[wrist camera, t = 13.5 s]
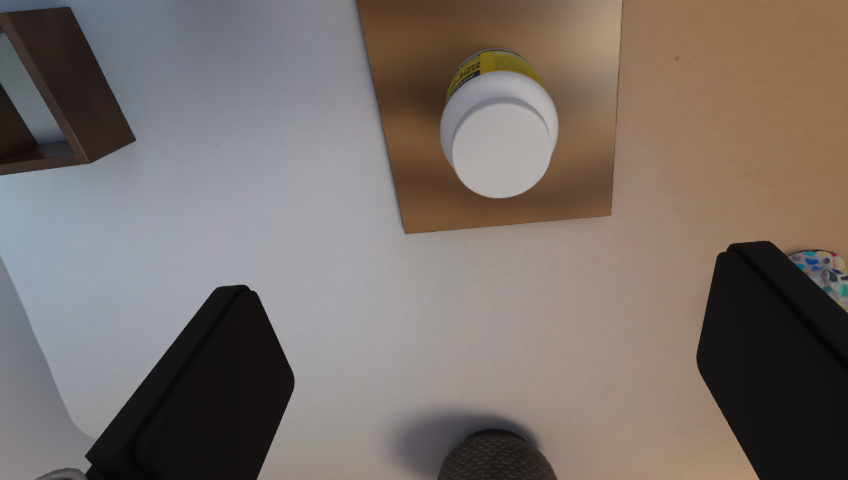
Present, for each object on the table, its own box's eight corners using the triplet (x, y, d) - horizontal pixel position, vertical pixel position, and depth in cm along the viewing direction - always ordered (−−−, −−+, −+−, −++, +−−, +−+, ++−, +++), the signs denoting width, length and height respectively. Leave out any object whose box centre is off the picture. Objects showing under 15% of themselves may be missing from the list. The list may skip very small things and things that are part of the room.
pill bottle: (466, 32, 28) (462, 62, 19) (556, 66, 29) (596, 113, 19) (434, 123, 31) (417, 188, 22) (516, 152, 32) (533, 228, 23)
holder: (-43, 29, 32) (-122, 38, 28) (70, 6, 31) (4, 12, 27) (35, 154, 37) (-22, 178, 33) (136, 140, 36) (90, 163, 31)
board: (348, -54, 27) (344, -56, 26) (624, -111, 25) (630, -114, 24) (406, 228, 37) (405, 234, 36) (607, 209, 35) (611, 215, 34)
